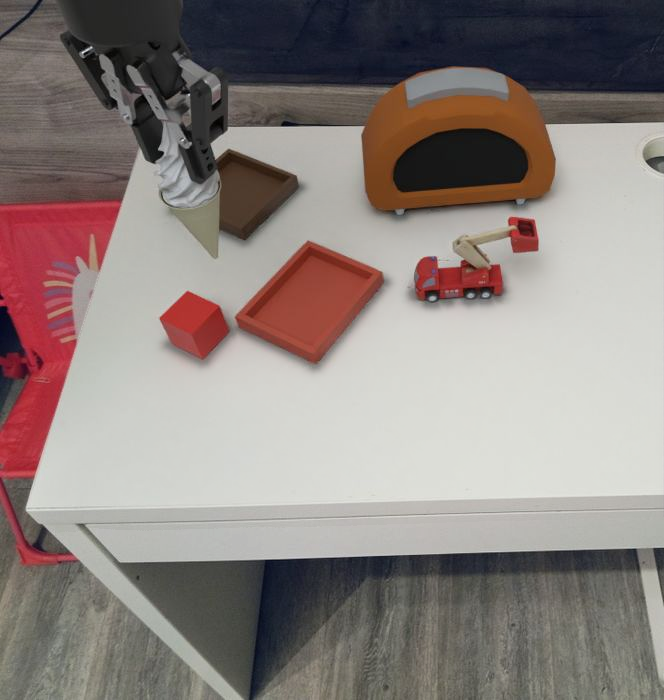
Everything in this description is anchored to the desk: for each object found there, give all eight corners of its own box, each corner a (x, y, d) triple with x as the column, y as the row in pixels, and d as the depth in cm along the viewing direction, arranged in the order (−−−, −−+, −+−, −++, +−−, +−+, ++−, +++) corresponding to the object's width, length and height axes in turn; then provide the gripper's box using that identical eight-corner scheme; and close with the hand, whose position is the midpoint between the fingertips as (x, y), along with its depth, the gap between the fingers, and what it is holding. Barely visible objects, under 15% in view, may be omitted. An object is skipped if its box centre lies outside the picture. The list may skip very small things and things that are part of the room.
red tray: (315, 364, 83) (313, 353, 82) (238, 327, 86) (234, 316, 85) (383, 282, 90) (382, 271, 89) (310, 251, 93) (307, 239, 92)
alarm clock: (369, 221, 97) (354, 108, 83) (365, 174, 102) (350, 60, 89) (552, 205, 98) (566, 92, 85) (539, 160, 104) (551, 46, 90)
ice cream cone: (253, 243, 70) (210, 102, 58) (227, 283, 67) (176, 143, 55) (204, 232, 71) (151, 91, 59) (176, 270, 68) (114, 130, 56)
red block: (203, 359, 84) (191, 334, 80) (171, 344, 85) (158, 318, 81) (229, 331, 86) (219, 305, 82) (198, 316, 87) (187, 290, 84)
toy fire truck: (414, 281, 90) (409, 221, 83) (530, 275, 91) (536, 214, 83) (415, 303, 88) (411, 243, 81) (533, 296, 89) (540, 236, 81)
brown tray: (244, 240, 95) (241, 228, 93) (175, 209, 98) (170, 198, 96) (299, 186, 100) (296, 175, 99) (231, 159, 104) (228, 148, 102)
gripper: (-28, -56, 48) (82, 164, 61) (142, 5, 43) (220, 227, 57) (65, -102, 52) (149, 114, 65) (230, -50, 47) (283, 169, 61)
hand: (182, 166), depth 61 cm, fingers closed on ice cream cone, 4 cm apart
